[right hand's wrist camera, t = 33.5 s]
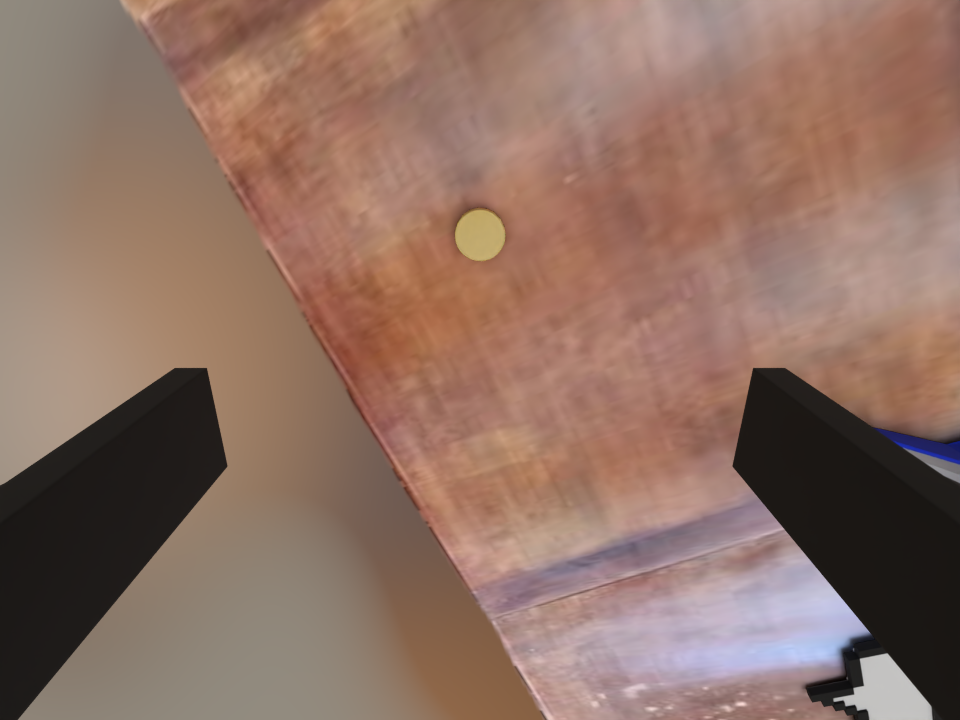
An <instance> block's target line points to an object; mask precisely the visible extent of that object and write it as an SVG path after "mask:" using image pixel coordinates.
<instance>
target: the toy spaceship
mask: <svg viewBox="0 0 960 720" xmlns="http://www.w3.org/2000/svg"><path fill="white" fill-rule="evenodd" d="M874 429H876V430H877V431H879V432H880V433H882V434H883V435H885V436H886V437H888V438H889V439H890V440H892V441H893V442H895V443H896V444H898V445H899V446H901V447H902V448H904V449H905V450H907V451H908V452H910V453H911V454H913V455H914V456H916V457H917V458H918V459H920V460H921V461H923V462H924V463H926V464H927V465H929V466H930V467H932V468H933V469H935V470H936V471H938V472H939V473H941V474H942V475H944V476H945V477H948V478H950V479H952V480H954V481H956V482H959V483H960V441H958V442H954V443H950V444H943V443H939V442H934V441H930V440H926V439H921V438H917V437H913V436H908V435H904V434H900V433H895V432H891V431H887V430H882V429H878V428H874Z"/></svg>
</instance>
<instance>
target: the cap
mask: <svg viewBox="0 0 960 720" xmlns="http://www.w3.org/2000/svg"><path fill="white" fill-rule="evenodd" d="M505 236H506V234H505V229H504V224H503V223H502V221H501V220H500V217H498V216H497V215H496V214H495V213H494V211H491V210H488V209H487V208H486V209H485V208H478V207H477V208H475V209H472V210H469V211H468V212H466V213H465V214H463V215H462V217H461V218H460V220H459V221H458V222H457V227H456V229H455V240H456V244H457V247H458V249H459V250H460V251H461V253H462V254H463V255H465V256H466V257H467V258H469V259H472V260H475V261H485V260H489V259H491V258H493V257H494V256H496V255H497V254H498V253H499V252H500V250H501V249H502V247H503V245H504V241H505Z"/></svg>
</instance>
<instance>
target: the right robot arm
mask: <svg viewBox="0 0 960 720" xmlns="http://www.w3.org/2000/svg"><path fill="white" fill-rule="evenodd" d="M226 468H227V462H226V457H225V452H224V447H223V443H222V438H221V433H220V428H219V424H218V419H217V414H216V409H215V405H214V400H213V395H212V390H211V386H210V381H209V376H208V371H207V368H174V369H173V370H171V371H170V372H168V373H167V374H165V375H164V376H163V377H161V378H160V379H158V380H157V381H155V382H154V383H152V384H151V385H149V386H148V387H146V388H145V389H143V390H142V391H140V392H139V393H137V394H136V395H135V396H133V397H132V398H130V399H129V400H127V401H126V402H124V403H123V404H121V405H120V406H118V407H117V408H115V409H114V410H112V411H111V412H109V413H108V414H106V415H105V416H103V417H102V418H101V419H99V420H98V421H96V422H95V423H93V424H92V425H90V426H89V427H87V428H86V429H84V430H83V431H81V432H80V433H78V434H77V435H75V436H74V437H73V438H71V439H70V440H68V441H67V442H65V443H64V444H62V445H61V446H59V447H58V448H56V449H55V450H53V451H52V452H50V453H49V454H47V455H46V456H44V457H43V458H42V459H40V460H39V461H37V462H36V463H34V464H33V465H31V466H30V467H28V468H27V469H25V470H24V471H22V472H21V473H19V474H18V475H16V476H15V477H14V478H12V479H11V480H9V481H8V482H6V483H4V484H2V485H0V720H18V719H19V717H20V716H21V715H22V714H23V713H24V711H25V710H26V709H27V708H28V707H29V705H30V704H31V703H32V702H33V701H34V699H35V698H36V697H37V696H38V694H39V693H40V692H41V691H42V690H43V689H44V687H45V686H46V685H47V684H48V682H49V681H50V680H51V679H52V678H53V676H54V675H55V674H56V673H57V672H58V670H59V669H60V668H61V667H62V666H63V664H64V663H65V662H66V661H67V659H68V658H69V657H70V656H71V655H72V653H73V652H74V651H75V650H76V649H77V647H78V646H79V645H80V644H81V643H82V641H83V640H84V639H85V638H86V637H87V635H88V634H89V633H90V632H91V631H92V629H93V628H94V627H95V626H96V624H97V623H98V622H99V621H100V620H101V618H102V617H103V616H104V615H105V614H106V612H107V611H108V610H109V609H110V608H111V606H112V605H113V604H114V603H115V602H116V600H117V599H118V598H119V597H120V596H121V594H122V593H123V592H124V591H125V589H126V588H127V587H128V586H129V585H130V583H131V582H132V581H133V580H134V579H135V577H136V576H137V575H138V574H139V573H140V571H141V570H142V569H143V568H144V566H145V565H146V564H147V563H148V562H149V561H150V559H151V558H152V557H153V556H154V554H155V553H156V552H157V551H158V550H159V548H160V547H161V546H162V545H163V544H164V542H165V541H166V540H167V539H168V538H169V536H170V535H171V534H172V533H173V532H174V530H175V529H176V528H177V527H178V525H179V524H180V523H181V522H182V521H183V519H184V518H185V517H186V516H187V515H188V513H189V512H190V511H191V510H192V509H193V507H194V506H195V505H196V504H197V502H198V501H199V500H200V499H201V498H202V496H203V495H204V494H205V493H206V492H207V490H208V489H209V488H210V487H211V485H212V484H213V483H214V482H215V481H216V480H217V478H218V477H219V476H220V475H221V474H222V472H223V471H224V470H225V469H226ZM733 468H734V469H735V470H736V471H737V472H738V474H739V475H740V476H741V477H742V478H743V480H744V481H745V482H746V483H747V484H748V486H749V487H750V488H751V489H752V490H753V492H754V493H755V494H756V495H757V497H758V498H759V499H760V500H761V501H762V503H763V504H764V505H765V506H766V507H767V509H768V510H769V511H770V512H771V513H772V515H773V516H774V517H775V518H776V519H777V521H778V522H779V523H780V524H781V525H782V527H783V528H784V529H785V530H786V532H787V533H788V534H789V535H790V536H791V538H792V539H793V540H794V541H795V542H796V544H797V545H798V546H799V547H800V548H801V550H802V551H803V552H804V553H805V554H806V556H807V557H808V558H809V559H810V561H811V562H812V563H813V564H814V565H815V567H816V568H817V569H818V570H819V571H820V573H821V574H822V575H823V576H824V577H825V579H826V580H827V581H828V582H829V583H830V585H831V586H832V587H833V588H834V589H835V591H836V592H837V593H838V594H839V596H840V597H841V598H842V599H843V600H844V602H845V603H846V604H847V605H848V606H849V608H850V609H851V610H852V611H853V612H854V614H855V615H856V616H857V617H858V618H859V620H860V621H861V622H862V623H863V625H864V626H865V627H866V628H867V629H868V631H869V632H870V633H871V634H872V635H873V637H874V638H875V639H876V640H877V641H878V643H879V644H880V645H881V646H882V647H883V649H884V650H885V651H886V652H887V653H888V655H889V656H890V657H891V658H892V660H893V661H894V662H895V663H896V664H897V666H898V667H899V668H900V669H901V670H902V672H903V673H904V674H905V675H906V676H907V678H908V679H909V680H910V681H911V682H912V684H913V685H914V686H915V687H916V689H917V690H918V691H919V692H920V693H921V695H922V696H923V697H924V698H925V699H926V701H927V702H928V703H929V704H930V705H931V707H932V708H933V709H934V710H935V711H936V713H937V714H938V715H939V716H940V717H941V719H942V720H960V483H959V482H956V481H954V480H952V479H950V478H948V477H945V476H944V475H942V474H941V473H939V472H938V471H936V470H935V469H933V468H932V467H930V466H929V465H927V464H926V463H924V462H923V461H921V460H920V459H918V458H917V457H916V456H914V455H913V454H911V453H910V452H908V451H907V450H905V449H904V448H902V447H901V446H899V445H898V444H896V443H895V442H893V441H892V440H890V439H889V438H888V437H886V436H885V435H883V434H882V433H880V432H879V431H877V430H876V429H874V428H873V427H871V426H870V425H868V424H867V423H865V422H864V421H862V420H861V419H859V418H858V417H857V416H855V415H854V414H852V413H851V412H849V411H848V410H846V409H845V408H843V407H842V406H840V405H839V404H837V403H836V402H834V401H833V400H831V399H830V398H828V397H827V396H826V395H824V394H823V393H821V392H820V391H818V390H817V389H815V388H814V387H812V386H811V385H809V384H808V383H806V382H805V381H803V380H802V379H800V378H799V377H797V376H796V375H795V374H793V373H792V372H790V371H789V370H787V369H786V368H753V371H752V376H751V381H750V386H749V390H748V395H747V400H746V405H745V409H744V414H743V419H742V424H741V428H740V433H739V438H738V443H737V447H736V452H735V457H734V461H733Z"/></svg>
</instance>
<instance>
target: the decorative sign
mask: <svg viewBox="0 0 960 720" xmlns="http://www.w3.org/2000/svg"><path fill="white" fill-rule="evenodd" d="M853 646H854V648H853V651H852V652H847V653H844V659H845V665H846V670H847V676H848V677H846V678H847V680H845V681H840V682H835V683H830V684H825V685H819V686H814V687H809V688H807V693H808V695H809V697H810V699H811V701H812V702H817V701H821V702H822V704H823V706H824V707H826V706H831V705H832V706H833V707H834V709H835V711H840V710H844V711H845V713H846V714H847V716H848V715H853V714H854V717H855V720H942V719H941V717H940V716H939V715H938V714H937V713H936V711H935V710H934V709H933V708H932V707H931V705H930V704H929V703H928V702H927V701H926V699H925V698H924V697H923V696H922V695H921V693H920V692H919V691H918V690H917V689H916V687H915V686H914V685H913V684H912V682H911V681H910V680H909V679H908V678H907V676H906V675H905V674H904V673H903V672H902V670H901V669H900V668H899V667H898V666H897V664H896V663H895V662H894V661H893V660H892V658H891V657H890V656H889V655H888V653H887V652H886V651H885V650H884V649H883V647H882V646H881V645H880V644H879V643H878V641H877V640H876V639H875V640H870V641H866V642H861V643H856V644H853Z"/></svg>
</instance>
